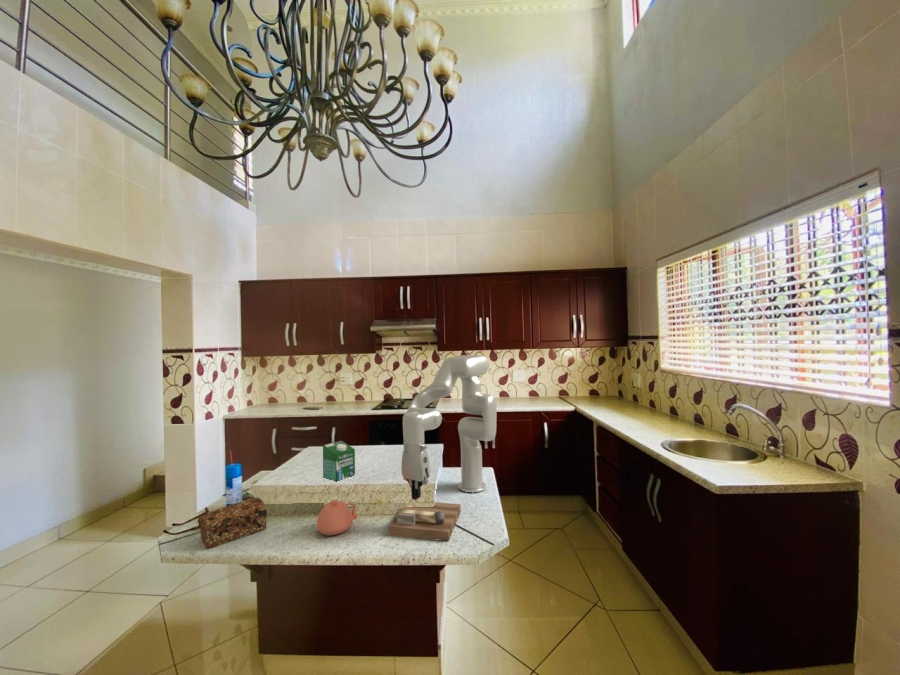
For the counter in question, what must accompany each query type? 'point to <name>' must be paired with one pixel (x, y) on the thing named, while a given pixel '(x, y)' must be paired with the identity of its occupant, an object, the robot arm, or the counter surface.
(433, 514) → the folding leg
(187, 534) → the counter surface
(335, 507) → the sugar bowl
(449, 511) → the wooden board
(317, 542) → the counter surface
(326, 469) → the milk carton
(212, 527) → the bread
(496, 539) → the counter surface
